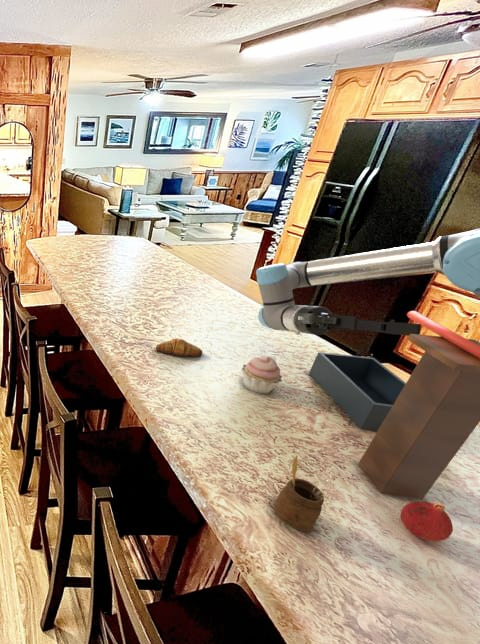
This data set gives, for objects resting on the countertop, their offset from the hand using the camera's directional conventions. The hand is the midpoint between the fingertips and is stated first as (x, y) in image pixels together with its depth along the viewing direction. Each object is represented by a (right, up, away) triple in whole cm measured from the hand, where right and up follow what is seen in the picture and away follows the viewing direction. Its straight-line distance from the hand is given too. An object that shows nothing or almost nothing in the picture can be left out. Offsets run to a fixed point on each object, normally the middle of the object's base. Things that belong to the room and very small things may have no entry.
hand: (387, 326), depth 82 cm
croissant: (-28, -10, +36) cm, 47 cm away
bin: (+10, -20, +16) cm, 28 cm away
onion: (-11, -36, -16) cm, 41 cm away
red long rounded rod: (-4, -2, -15) cm, 15 cm away
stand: (-6, -30, -5) cm, 31 cm away
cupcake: (-14, -17, +21) cm, 31 cm away
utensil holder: (-31, -34, -13) cm, 48 cm away
